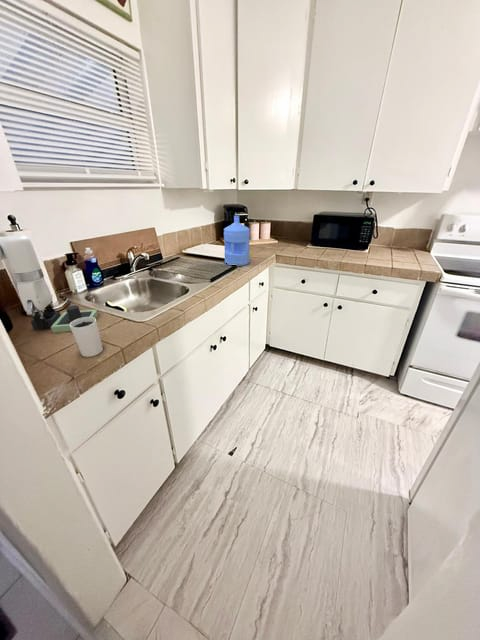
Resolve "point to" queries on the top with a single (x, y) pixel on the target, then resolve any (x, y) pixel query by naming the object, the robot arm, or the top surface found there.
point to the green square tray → (66, 327)
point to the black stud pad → (73, 315)
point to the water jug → (236, 243)
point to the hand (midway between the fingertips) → (48, 323)
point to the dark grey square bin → (47, 319)
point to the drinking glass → (87, 336)
